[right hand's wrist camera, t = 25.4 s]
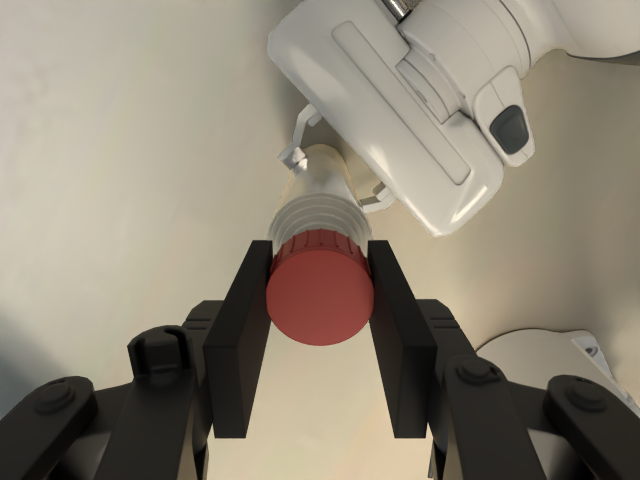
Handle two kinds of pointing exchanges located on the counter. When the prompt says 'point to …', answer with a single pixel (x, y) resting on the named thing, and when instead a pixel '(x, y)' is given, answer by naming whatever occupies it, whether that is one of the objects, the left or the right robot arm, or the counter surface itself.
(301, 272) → the cap
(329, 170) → the bottle
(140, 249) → the counter surface
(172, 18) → the counter surface
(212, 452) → the counter surface
